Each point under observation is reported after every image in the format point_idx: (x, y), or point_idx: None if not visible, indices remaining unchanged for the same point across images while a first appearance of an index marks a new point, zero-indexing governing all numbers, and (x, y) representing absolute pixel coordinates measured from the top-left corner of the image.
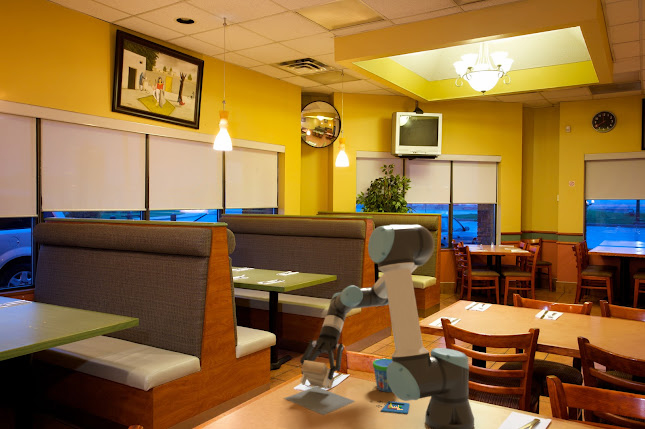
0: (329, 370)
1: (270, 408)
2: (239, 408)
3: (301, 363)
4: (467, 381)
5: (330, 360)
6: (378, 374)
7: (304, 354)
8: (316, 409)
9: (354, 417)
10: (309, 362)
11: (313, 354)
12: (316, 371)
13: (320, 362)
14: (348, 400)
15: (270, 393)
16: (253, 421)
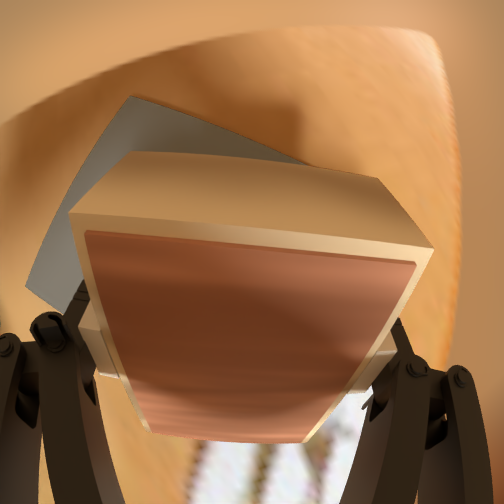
0: (87, 319)
1: (374, 114)
2: (449, 106)
3: (445, 375)
4: None
5: (67, 430)
6: None
7: (480, 451)
8: (171, 128)
9: (24, 146)
10: (341, 220)
11: (384, 501)
12: (188, 157)
13: (136, 214)
14: (51, 284)
15: (452, 260)
16: (357, 34)
